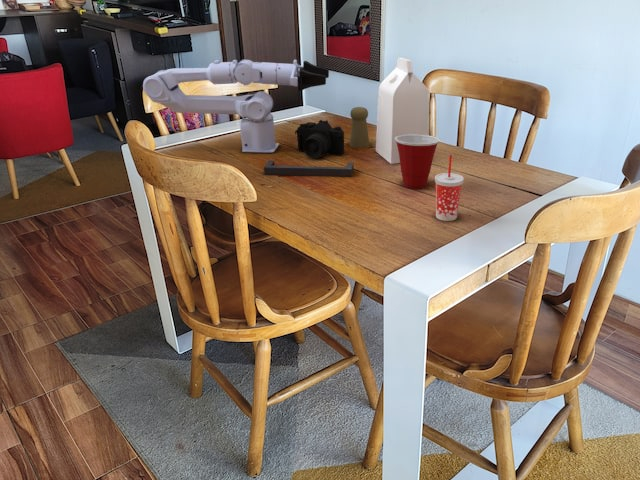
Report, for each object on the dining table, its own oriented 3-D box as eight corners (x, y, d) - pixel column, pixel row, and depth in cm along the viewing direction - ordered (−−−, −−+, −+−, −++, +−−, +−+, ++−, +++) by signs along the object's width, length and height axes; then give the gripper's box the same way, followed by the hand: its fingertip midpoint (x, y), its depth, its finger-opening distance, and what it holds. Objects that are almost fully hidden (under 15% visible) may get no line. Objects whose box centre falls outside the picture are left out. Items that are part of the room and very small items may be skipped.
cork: (369, 147, 169) (369, 110, 164) (349, 147, 169) (348, 110, 164) (369, 141, 174) (369, 105, 169) (349, 141, 174) (349, 105, 169)
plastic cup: (441, 179, 145) (444, 133, 140) (431, 194, 137) (434, 145, 131) (400, 175, 149) (401, 129, 143) (388, 189, 140) (389, 141, 134)
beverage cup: (464, 220, 123) (470, 158, 117) (437, 223, 122) (441, 160, 115) (454, 209, 129) (459, 149, 122) (428, 212, 128) (432, 151, 121)
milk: (429, 159, 160) (434, 61, 147) (391, 163, 156) (392, 64, 144) (411, 146, 169) (415, 54, 157) (375, 151, 166) (376, 57, 153)
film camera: (286, 156, 162) (284, 125, 158) (301, 146, 170) (299, 116, 166) (336, 162, 158) (335, 130, 153) (348, 152, 166) (348, 121, 161)
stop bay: (264, 174, 150) (263, 167, 149) (269, 167, 155) (268, 160, 154) (351, 176, 148) (351, 169, 147) (353, 169, 153) (353, 162, 152)
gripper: (273, 65, 150) (324, 68, 150) (282, 53, 162) (330, 56, 162) (274, 92, 154) (324, 95, 153) (283, 78, 166) (329, 81, 166)
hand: (327, 76), depth 158 cm, fingers open, 7 cm apart
